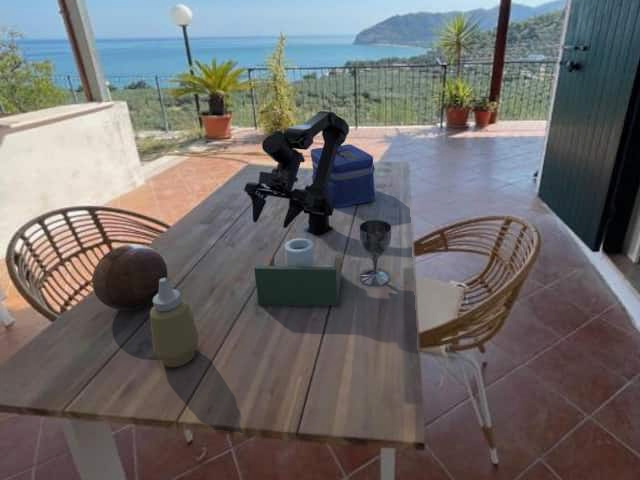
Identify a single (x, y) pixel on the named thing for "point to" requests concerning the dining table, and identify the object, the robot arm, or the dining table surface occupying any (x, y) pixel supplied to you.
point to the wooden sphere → (128, 277)
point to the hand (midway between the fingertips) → (269, 224)
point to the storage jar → (299, 253)
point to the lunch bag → (348, 176)
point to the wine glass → (375, 248)
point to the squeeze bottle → (172, 327)
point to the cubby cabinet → (297, 284)
